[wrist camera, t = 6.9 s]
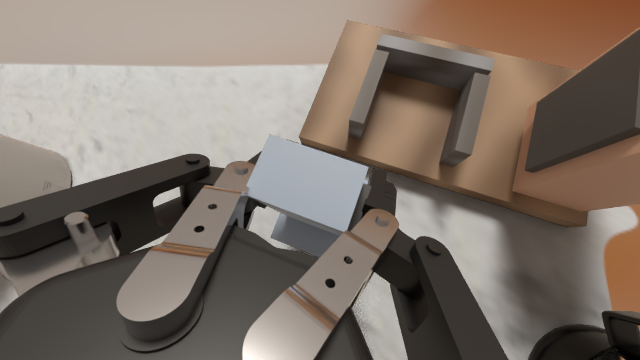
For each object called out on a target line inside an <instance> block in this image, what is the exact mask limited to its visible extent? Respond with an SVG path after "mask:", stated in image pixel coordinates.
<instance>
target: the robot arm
mask: <svg viewBox="0 0 640 360" xmlns="http://www.w3.org/2000/svg"><path fill="white" fill-rule="evenodd" d="M286 140H287V139H286ZM289 141H290V140H289ZM292 142H293V141H292ZM295 143H296V142H295ZM298 144H299V143H298ZM261 152H262V151H261ZM261 152H260V153H259V154H257V155H256V156H254V157H253V158H252V159H250V160H249V161H247V162H245V161H236V162H232V163H230V164H228V165H227V166H226V168H218V167H211V166H210V160H209V159H208V158H207V157H206V156H204V155H201V154H186V155H182V156H179V157H175V158H172V159H168V160H165V161H161V162H158V163H154V164H151V165H147V166H144V167H140V168H137V169H134V170H130V171H127V172H123V173H120V174H116V175H113V176H109V177H106V178H102V179H99V180H95V181H92V182H88V183H85V184H81V185H78V186H74V187H71V188H70V186H71V172H70V168H69V165H68V163H67V162H66V160H65V159H64V158H63V157H62V156H61V155H59V154H58V153H56V152H53V151H51V150H47V149H44V148H41V147H38V146H35V145H32V144H29V143H25V142H22V141H19V140H16V139H13V138H10V137H7V136H4V135H1V134H0V272H1V274H2V275H3V276H4V277H5V278H6V279H7V280H10V281H11V282H12V284H13V286H14V288H15V290H16V292H17V294H18V296H19V297H18V298H17V299H15V300H14V301H13V302H12V303H10V304H9V305H8V306H7V307H6V308H5V309H4V310H3V311H2V312H1V313H0V360H373V358H372V356H371V353H370V351H369V348H368V346H367V344H366V341H365V339H364V336H363V334H362V332H361V329H360V327H359V324H358V322H357V319H356V317H355V315H354V312H353V308H354V306H355V304H356V303H357V301H358V299H359V297H360V296H361V294H362V292H363V291H364V289H365V287H366V286H367V284H368V282H369V281H370V279H371V277H372V276H373V274H374V272H375V273H377V274H378V275H379V276H381V277H382V278H384V279H385V280H386V281H388V282H389V283H390V288H391V292H392V296H393V300H394V304H395V308H396V312H397V316H398V320H399V324H400V328H401V332H402V336H403V341H404V345H405V349H406V353H407V357H408V360H508V358H507V356H506V354H505V353H504V351H503V349H502V347H501V345H500V343H499V342H498V340H497V338H496V336H495V334H494V332H493V331H492V329H491V327H490V325H489V323H488V321H487V320H486V318H485V316H484V314H483V312H482V311H481V309H480V307H479V305H478V303H477V301H476V300H475V298H474V296H473V294H472V292H471V290H470V289H469V287H468V285H467V283H466V281H465V279H464V278H463V276H462V274H461V272H460V270H459V268H458V267H457V265H456V263H455V261H454V259H453V257H452V256H451V254H450V252H449V250H448V249H447V248H446V247H445V246H444V245H443V244H442V243H440V242H439V241H437V240H435V239H433V238H431V237H426V236H421V237H419V238H417V239H416V240H414V239H412V238H411V237H409V236H407V235H406V234H404V233H403V232H402V231H401V230H400V229H399V228H398V227H399V223H398V220H397V219H396V218H395V209H396V194H397V190H396V188H395V186H394V184H392V183H389V182H386V181H385V180H386V173H387V172H384V171H381V170H378V169H375V168H373V170H372V173H371V176H370V178H369V181H368V184H367V185H370V186H372V187H371V190H370V193H369V196H368V198H366V199H365V202H364V205H363V208H362V212H363V213H362V216H361V219H360V221H359V222H358V224H357V225H356V226H355V227H354V228H353V229H352V230H351V231H350V232H349V231H348V230H346V231H344V232H343V234H342V235H341V236H340V237H339V238H338V239H337V240H336V241H335V242H334V243H333V244H332V245H331V246H330V247H329V249H328V250H327V251H326V252H325V253H324V254H323V255H322V256H321V257H320V258H319V259H318V258H315V257H313V256H311V255H308V254H306V253H303V252H297V251H292V250H286V249H280V248H276V247H274V246H272V245H271V244H270V243H268V242H267V241H265V240H264V239H263V238H261V237H260V236H258V235H257V234H255V233H253V232H251V231H248V229H249V226H250V223H251V221H252V218H253V215H254V209H255V208H256V207H257V206H259V207H262V208H265V207H266V206H267V205H264V204H262V203H260V202H258V201H256V200H254V199H252V198H250V197H249V196H248V191H249V187H248V186H246V185H247V183H248V181H249V178H250V176H251V174H252V172H253V170H254V167H255V165H256V163H257V161H258V159H259V156H260V154H261ZM176 187H180V194H181V196H180V197H178V198H175V199H173V200H171V201H168V202H166V203H163V204H161V205H159V206H156V207H153V200H154V198H155V197H156V196H157V195H159V194H161V193H163V192H166V191H169V190H171V189H174V188H176ZM168 233H169V235H168V236H167V237H166V239H165V240H164V241H163V242H162V243H161V244H159V245H155V246H152V247H149V248H145V249H142V250H138V251H135V252H132V251H134V250H136V249H138V248H140V247H142V246H144V245H146V244H148V243H150V242H152V241H154V240H156V239H158V238H160V237H162V236H164V235H166V234H168ZM130 252H132V253H130Z"/></svg>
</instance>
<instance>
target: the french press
mask: <svg viewBox="0 0 640 360" xmlns="http://www.w3.org/2000/svg"><path fill="white" fill-rule="evenodd" d="M602 319H603V322H604V326H605V329H602V328H599V327H595V326H590V325H582V324H577V325H566V326H563V327H559V328H556V329H554V330H552V331H551V332H549V333H547V334H546V335H544V336H543V337H542V338H541V339H540V340H539V341H538V342H537V343H536V345H535V347H534V349H533V350H532V352H531V354H530V357H529V360H594V359H596V358H597V357H599V356H601V355H602V354H604V353H607V352H610V351H612V352H614V353H616V354H618V355H620V356H621V357H622V358H624V359H625V360H640V331H639V328H638V325H640V313H637V312H632V311H603V312H602Z"/></svg>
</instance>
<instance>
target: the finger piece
mask: <svg viewBox="0 0 640 360" xmlns="http://www.w3.org/2000/svg"><path fill="white" fill-rule="evenodd" d="M368 168H369V167H367V166H364V165H361V164H358V163H355V162H352V161H349V160H346V159H343V158H340V157H337V156H334V155H331V154H328V153H325V152H322V151H319V150H316V149H313V148H310V147H307V146H304V145H301V144H298V143H295V142H292V141H289V140H286V139H283V138H280V137H277V136H274V135H271V134H269V137H268V139H267V141H266V143H265V145H264V148H263V150H262V152H261V154H260V156H259V159H258V161H257V163H256V165H255V167H254V170H253V172H252V174H251V176H250V178H249V181H248V183H247V185H246V186H248V187H249V191H248V196H249V197H250V198H252V199H254V200H256V201H258V202H260V203H262V204H264V205H267V206H268V207H270V208H272V209H274V210H276V211H278V212H280V215H279V218H278V220H277V223H276V225H275V227H274V230H273V232H272V235H271V237H270V238H273V239H275V240H277V241H280V242H282V243H285V244H287V245H290V246H292V247H295V248H297V249H300V250H302V251H305V252H307V253H310V254H312V255H315V256H317V257H321V256H322V255H323V254H324V253H325V252H326V251H327V250H328V249H329V247H330V246H331V245H332V244H333V243H334V242H335V241H336V240H337V239H338V238H339V237H340V236H341V235H342V234H343V232H344V231H346V230H348V231H349V232H350V231H351V230H352V229H353V228H354V227H355V226H356V225H357V224H358V222H359V221H360V219H361V216H362V213H363V212H362V208H363V205H364V202H365V199H366V198H368V196H369V193H370V190H371V187H372V186H370V185H367V184H368V180H365V177H366V174H367V171H368Z"/></svg>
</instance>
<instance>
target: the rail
mask: <svg viewBox="0 0 640 360" xmlns="http://www.w3.org/2000/svg"><path fill="white" fill-rule="evenodd" d="M577 72H578V70H574V69H569V68H564V67H560V66H556V65H551V64H546V63H541V62H537V61H533V60H528V59H523V58H519V57H514V56H510V55H505V54H500V53H495V52H491V51H486V50H482V49H477V48H472V47H468V46H463V45H459V44H454V43H450V42H445V41H440V40H436V39H431V38H427V37H422V36H418V35H413V34H408V33H404V32H399V31H395V30H390V29H385V28H381V27H376V26H372V25H367V24H362V23H358V22H353V21H348V20H347V22H346V25H345V27H344V29H343V32H342V34H341V37H340V39H339V41H338V44H337V46H336V49H335V51H334V53H333V56H332V58H331V61H330V63H329V65H328V68H327V70H326V73H325V75H324V77H323V80H322V82H321V85H320V87H319V90H318V92H317V94H316V97H315V99H314V102H313V104H312V106H311V109H310V111H309V114H308V116H307V118H306V121H305V123H304V126H303V128H302V130H301V133H300V135H299V138H300V141H301V143H303V144H306V145H309V146H312V147H315V148H319V149H322V150H325V151H328V152H331V153H334V154H338V155H341V156H344V157H347V158H350V159H353V160H357V161H360V162H363V163H366V164H369V165H372V166H376V167H379V168H382V169H385V170H388V171H391V172H395V173H398V174H401V175H404V176H407V177H410V178H414V179H417V180H420V181H423V182H426V183H429V184H433V185H436V186H439V187H442V188H445V189H448V190H452V191H455V192H458V193H461V194H464V195H467V196H471V197H474V198H477V199H480V200H483V201H486V202H490V203H493V204H496V205H499V206H502V207H505V208H509V209H512V210H515V211H518V212H521V213H524V214H528V215H531V216H534V217H537V218H540V219H543V220H547V221H550V222H553V223H556V224H559V225H562V226H566V227H581V226H586V223H587V215H588V211H582V212H580V211H576V210H573V209H570V208H567V207H563V206H560V205H557V204H553V203H550V202H547V201H544V200H540V199H537V198H534V197H530V196H527V195H524V194H521V193H517V192H514V191H512V190H513V184H514V179H515V174H516V169H517V164H518V159H519V153H520V148H521V143H522V138H523V133H524V128H525V122H526V117H527V112H528V107H530V106H531V105H532V104H534V103H535V102H537V101H538V100H539V99H541V98H542V97H544V96H545V95H546V94H548V93H549V92H550V91H552V90H553V89H555V88H556V87H557V86H559V85H560V84H562V83H563V82H564V81H566V80H567V79H568V78H570V77H571V76H573V75H574V74H575V73H577Z"/></svg>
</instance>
